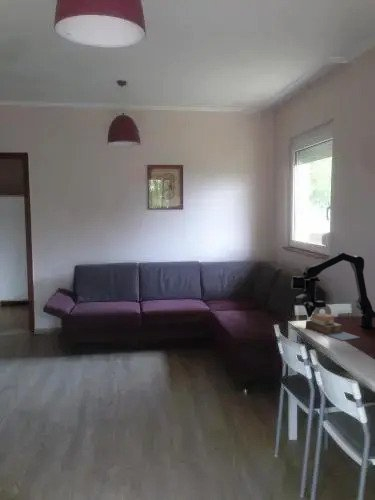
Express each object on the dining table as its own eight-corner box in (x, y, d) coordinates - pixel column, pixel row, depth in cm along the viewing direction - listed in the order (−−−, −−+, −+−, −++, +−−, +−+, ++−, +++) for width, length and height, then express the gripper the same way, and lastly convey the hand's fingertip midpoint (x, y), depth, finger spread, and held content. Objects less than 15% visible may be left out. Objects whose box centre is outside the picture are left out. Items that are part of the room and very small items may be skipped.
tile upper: (322, 316, 245) (322, 312, 245) (333, 319, 238) (334, 316, 238) (311, 317, 241) (311, 314, 241) (322, 321, 234) (322, 317, 234)
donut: (330, 320, 262) (331, 303, 261) (330, 321, 259) (331, 304, 258) (313, 318, 265) (313, 301, 264) (312, 320, 262) (313, 303, 261)
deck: (322, 326, 248) (322, 318, 248) (341, 332, 236) (342, 324, 236) (305, 328, 243) (306, 321, 242) (325, 335, 230) (325, 327, 230)
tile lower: (322, 320, 245) (322, 316, 245) (333, 323, 238) (333, 319, 238) (311, 321, 242) (311, 317, 241) (322, 325, 235) (322, 321, 234)
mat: (342, 332, 236) (342, 331, 236) (359, 338, 226) (359, 337, 226) (325, 335, 230) (325, 334, 230) (342, 340, 220) (342, 339, 220)
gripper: (287, 287, 251) (286, 314, 253) (311, 293, 235) (310, 322, 237) (302, 286, 257) (301, 313, 258) (327, 291, 241) (325, 320, 242)
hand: (309, 317), depth 249 cm, fingers closed
